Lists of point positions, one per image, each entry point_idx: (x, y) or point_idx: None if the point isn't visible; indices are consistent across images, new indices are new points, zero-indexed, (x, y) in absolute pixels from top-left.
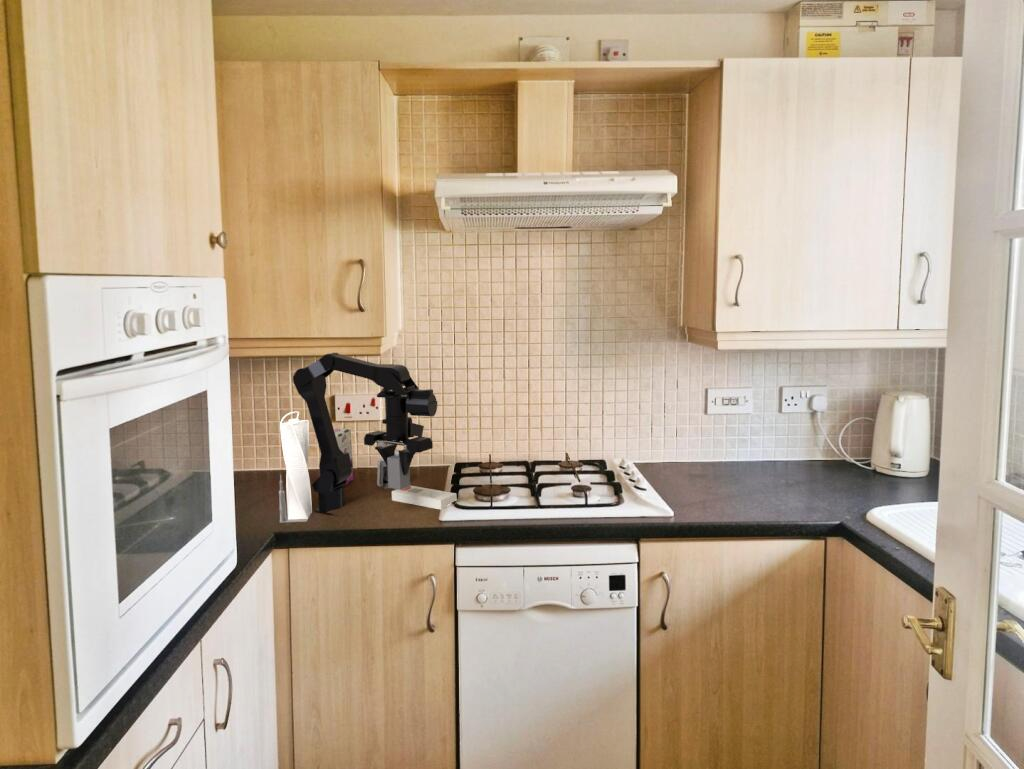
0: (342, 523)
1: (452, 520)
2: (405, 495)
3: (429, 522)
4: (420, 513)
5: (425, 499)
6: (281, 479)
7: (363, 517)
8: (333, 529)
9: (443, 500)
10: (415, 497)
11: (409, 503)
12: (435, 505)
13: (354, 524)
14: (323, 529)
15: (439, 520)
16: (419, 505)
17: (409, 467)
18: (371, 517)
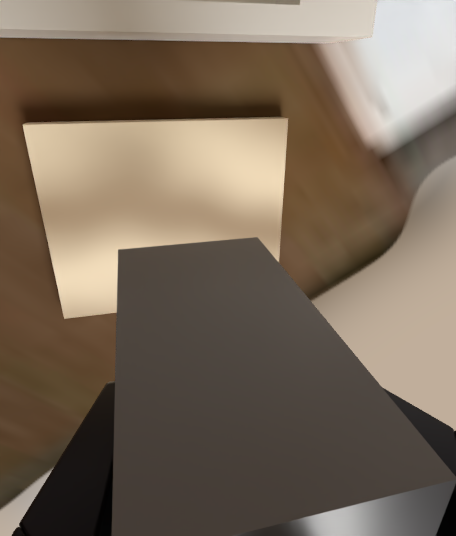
0: (5, 421)
1: (429, 117)
2: (16, 30)
3: (343, 201)
4: (223, 113)
5: (231, 35)
6: None
7: (7, 327)
8: (44, 470)
9: (372, 2)
10: (130, 33)
11: (69, 37)
12: (306, 40)
13: (63, 399)
14: (10, 490)
15: (372, 152)
16: (164, 39)
17: (335, 335)
18: (42, 305)
